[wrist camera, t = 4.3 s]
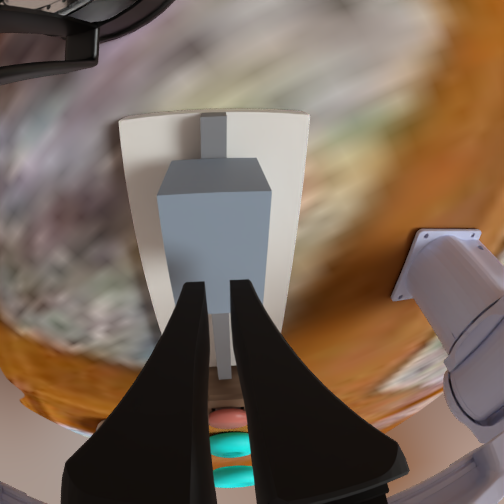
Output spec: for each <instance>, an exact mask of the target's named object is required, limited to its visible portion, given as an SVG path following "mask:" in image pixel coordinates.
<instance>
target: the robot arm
mask: <svg viewBox="0 0 504 504" xmlns="http://www.w3.org/2000/svg"><path fill="white" fill-rule="evenodd" d="M480 235H481V231H480V230H479V229H420V230H418V231H417V233H416V235H415V238H414V241H413V243H412V246H411V249H410V251H409V254H408V257H407V259H406V262H405V264H404V267H403V269H402V272H401V274H400V276H399V279H398V281H397V283H396V286H395V288H394V290H393V293H392V295H391V299H392V301H399V300H405V299H411V298H414V300H415V301H416V303H417V304H418V306H419V307H420V309H421V311H422V312H423V314H424V315H425V317H426V318H427V320H428V322H429V323H430V325H431V326H432V328H433V330H434V331H435V333H436V335H437V336H438V338H439V340H440V341H441V343H442V345H443V347H444V348H445V350H446V352H447V354H448V355H449V356H448V357H447V358H446V359H445V360H444V364H445V365H446V367H447V369H448V370H447V371H446V372H445V374H444V379H443V385H444V387H443V389H444V396H445V399H446V402H447V404H448V406H449V409H450V410H451V412H452V413H453V415H454V416H455V417H456V418H457V419H458V420H459V421H460V422H462V423H464V424H465V425H466V426H467V427H468V428H469V429H470V430H471V431H472V432H473V434H474V435H475V437H476V438H477V439H478V441H479V442H480V443H485V444H484V445H482V446H481V447H479V448H476V449H475V450H473V451H471V452H469V453H468V454H466V455H465V456H463V457H462V458H460V459H458V460H457V461H455V462H454V463H452V464H450V466H449V467H448V468H446V469H445V470H443V471H441V472H440V473H438V474H436V475H434V476H432V477H430V478H429V479H427V480H425V481H423V482H421V483H419V484H417V485H415V486H412V487H410V488H409V489H406V490H404V491H402V492H400V493H397V494H395V495H393V496H390V497H388V498H386V495H385V494H386V493H388V492H389V488H388V485H387V483H388V482H390V481H393V480H395V479H397V478H400V477H402V476H404V475H407V474H408V472H409V468H408V464H407V462H406V459H405V456H404V454H403V452H402V451H401V448H400V447H399V445H398V443H397V442H396V441H394V440H393V439H391V438H390V437H388V436H387V435H385V434H384V433H382V432H381V431H379V430H378V429H376V428H375V427H373V426H372V425H371V424H369V423H368V422H366V421H365V420H364V419H363V418H361V417H360V416H359V415H357V414H356V413H355V412H354V411H352V410H351V409H350V408H349V407H348V406H347V405H345V404H344V403H343V402H342V401H341V400H340V399H339V398H337V397H336V396H335V395H334V394H333V393H332V392H331V391H330V390H329V389H328V388H327V387H326V386H325V385H324V384H323V383H322V382H321V381H320V380H319V379H318V378H317V377H316V376H315V375H314V374H313V373H312V372H311V371H310V370H309V369H308V367H307V366H306V365H305V364H304V363H303V362H302V361H301V359H300V358H299V357H298V356H297V354H296V353H295V352H294V351H293V349H292V348H291V347H290V345H289V344H288V343H287V341H286V340H285V339H284V337H283V336H282V335H281V333H280V332H279V330H278V329H277V327H276V326H275V324H274V323H273V321H272V319H271V318H270V316H269V315H268V313H267V311H266V310H265V308H264V306H263V304H262V303H261V301H260V299H259V297H258V295H257V293H256V291H255V289H254V287H253V284H252V282H251V281H250V280H249V279H242V280H230V314H231V331H232V343H233V351H234V356H235V361H236V366H237V371H238V376H239V381H240V385H241V390H242V395H243V400H244V405H245V410H246V417H247V426H248V434H249V442H250V451H251V459H252V467H253V476H254V484H255V492H256V500H257V504H497V503H498V502H499V501H500V500H501V499H502V498H503V497H504V266H503V265H502V264H501V262H500V261H499V260H498V259H497V258H496V257H495V256H494V255H493V254H492V253H491V252H490V251H489V250H488V249H487V248H486V247H485V246H484V245H483V244H482V243H481V242H480V241H479V238H480ZM209 363H210V335H209V319H208V309H207V300H206V290H205V281H199V282H186V283H185V284H183V287H182V290H181V293H180V296H179V298H178V301H177V303H176V306H175V308H174V310H173V313H172V315H171V317H170V319H169V321H168V323H167V325H166V327H165V330H164V332H163V334H162V336H161V338H160V339H159V341H158V343H157V345H156V347H155V348H154V350H153V352H152V354H151V356H150V358H149V359H148V361H147V363H146V364H145V366H144V368H143V369H142V371H141V372H140V374H139V375H138V377H137V378H136V380H135V382H134V383H133V385H132V386H131V387H130V389H129V390H128V392H127V393H126V394H125V396H124V397H123V399H122V400H121V401H120V403H119V404H118V405H117V407H116V408H115V409H114V410H113V412H112V413H111V414H110V415H109V416H108V418H107V419H106V420H105V421H104V422H103V423H102V425H101V426H100V427H99V428H98V429H97V431H96V432H95V433H94V434H93V435H92V436H91V437H90V438H89V440H87V441H86V442H85V443H84V444H83V445H82V446H81V447H80V448H79V449H78V450H77V451H76V452H75V453H74V454H73V455H72V456H71V457H70V458H69V459H68V460H67V461H66V463H65V467H64V472H63V477H62V486H61V504H217V499H216V492H215V484H214V476H213V468H212V459H211V449H210V438H209V425H208V385H209ZM0 504H47V503H44V502H42V501H39V500H37V499H34V498H32V497H29V496H27V494H26V493H24V492H22V491H20V490H18V489H16V488H14V487H12V486H9V485H8V484H5V483H3V482H1V481H0Z"/></svg>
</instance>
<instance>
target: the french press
mask: <svg viewBox="0 0 504 504" xmlns="http://www.w3.org/2000/svg"><path fill="white" fill-rule="evenodd" d="M92 1H94V0H0V33H34V34H44V35H48V36H55V37H60V38H62V39H65V40H66V47H65V61H47V62H34V63H25V64H17V65H9V66H3V67H0V85H4V84H8V83H12V82H17V81H22V80H26V79H32V78H37V77H43V76H50V75H57V74H65V73H69V72H73V71H77V70H82V69H86V68H91V67H94V66H96V65H97V64H98V57H99V42H105V41H109V40H112V39H116V38H120V37H122V36H124V35H126V34H129V33H131V32H134V31H136V30H137V29H139V28H141V27H142V26H144V25H146V24H148V23H149V22H151V21H152V20H153V19H155V18H156V17H157V16H159V15H160V14H161V13H163V12H164V11H165V10H166V9H167V8H168V7H169V6H170V5H171V4H172V3H173V2H174V1H175V0H138V1H136V2H135V3H134V4H133V5H131V6H130V7H128V8H127V9H125V10H123V11H122V12H120V13H119V14H117V15H115V16H114V17H112V18H110V19H107V20H104V21H99V22H92V23H90V22H87V21H83V20H80V19H76V18H72V17H68V15H70V14H72V13H73V12H75V11H77V10H79V9H81V8H82V7H84V6H86V5H87V4H89V3H91V2H92Z"/></svg>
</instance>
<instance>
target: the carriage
mask: <svg viewBox="0 0 504 504" xmlns="http://www.w3.org/2000/svg"><path fill="white" fill-rule="evenodd" d="M271 198H272V190H271V188H270V186H269V184H268V181H267V179H266V177H265V175H264V173H263V171H262V168H261V166H260V164H259V162H258V160H257V158H212V159H190V160H174V161H171V163H170V165H169V168H168V170H167V172H166V174H165V177H164V179H163V181H162V184H161V186H160V189H159V191H158V194H157V203H158V210H159V217H160V224H161V231H162V237H163V243H164V249H165V255H166V261H167V266H168V272H169V277H170V282H171V288H172V293H173V297H174V302H175V306H176V303H177V301H178V298H179V296H180V293H181V290H182V287H183V284H185V283H186V282H199V281H205V290H206V300H207V309H208V314H219V313H230V280H242V279H249V280H250V281H251V282H252V284H253V287H254V289H255V291H256V293H257V295H258V297H259V299H260V301H261V303H262V304H263V299H264V287H265V275H266V263H267V250H268V238H269V225H270V211H271Z"/></svg>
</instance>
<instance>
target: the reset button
mask: <svg viewBox="0 0 504 504" xmlns="http://www.w3.org/2000/svg"><path fill="white" fill-rule="evenodd" d="M215 410H216V411H214V412H212V413H210V414H209V425H210V426H212V427H215V428H220V429H233V428H239V427H242V426H245V425H247V417H246V411H245V410H241V407H232V408H215Z"/></svg>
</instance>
